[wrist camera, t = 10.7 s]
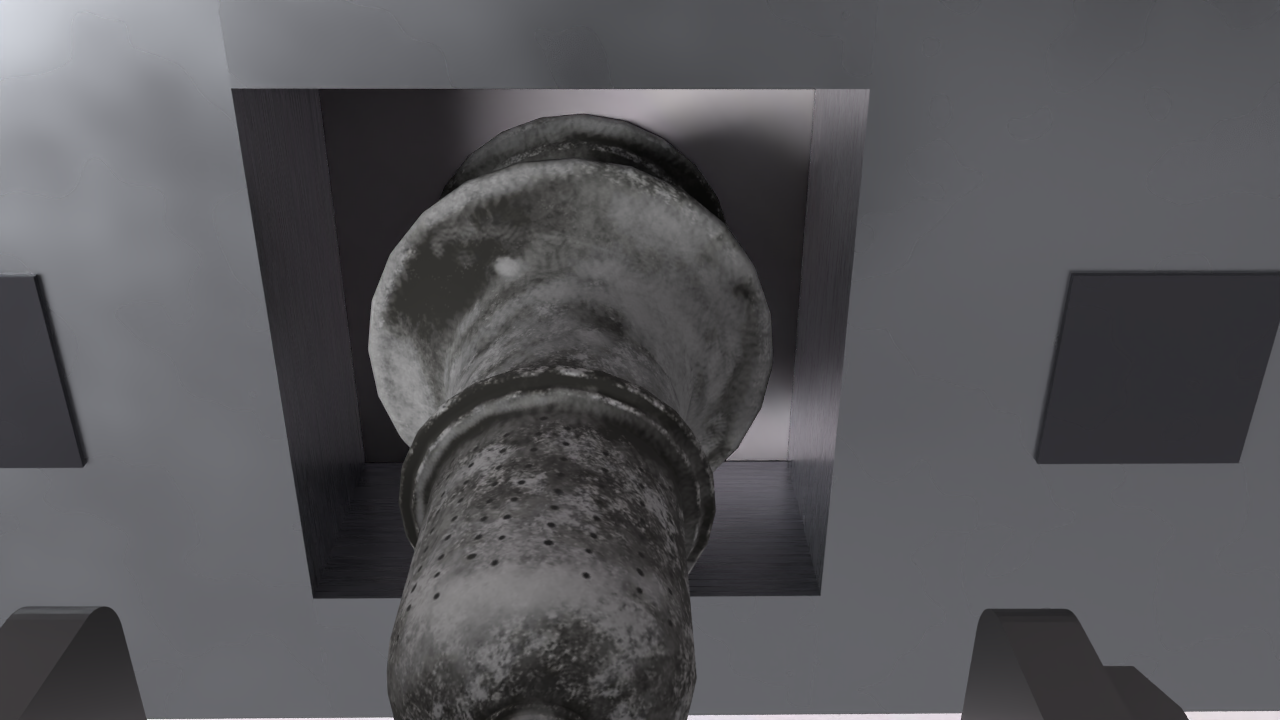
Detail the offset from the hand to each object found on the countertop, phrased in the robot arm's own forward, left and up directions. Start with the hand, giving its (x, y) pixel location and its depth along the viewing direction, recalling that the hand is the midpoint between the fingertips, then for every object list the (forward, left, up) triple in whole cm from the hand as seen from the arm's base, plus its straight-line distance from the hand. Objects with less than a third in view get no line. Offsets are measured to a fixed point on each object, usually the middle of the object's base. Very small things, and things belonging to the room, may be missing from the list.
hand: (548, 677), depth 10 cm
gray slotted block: (0, 0, -10) cm, 10 cm away
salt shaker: (0, 0, -10) cm, 10 cm away
